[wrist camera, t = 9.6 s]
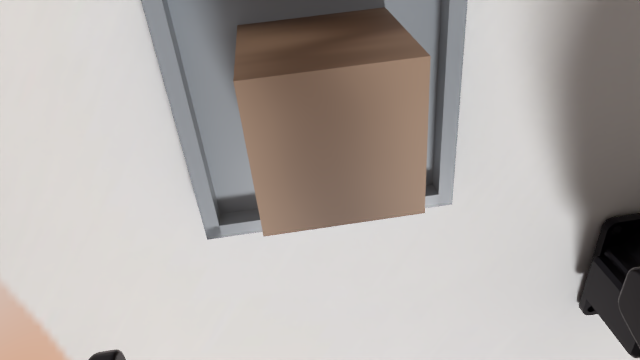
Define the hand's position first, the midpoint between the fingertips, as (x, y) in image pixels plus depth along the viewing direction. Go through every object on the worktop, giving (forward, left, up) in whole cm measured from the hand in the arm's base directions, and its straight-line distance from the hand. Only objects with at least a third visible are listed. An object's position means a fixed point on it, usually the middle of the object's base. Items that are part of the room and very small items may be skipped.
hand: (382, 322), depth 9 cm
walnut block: (0, 0, -11) cm, 11 cm away
